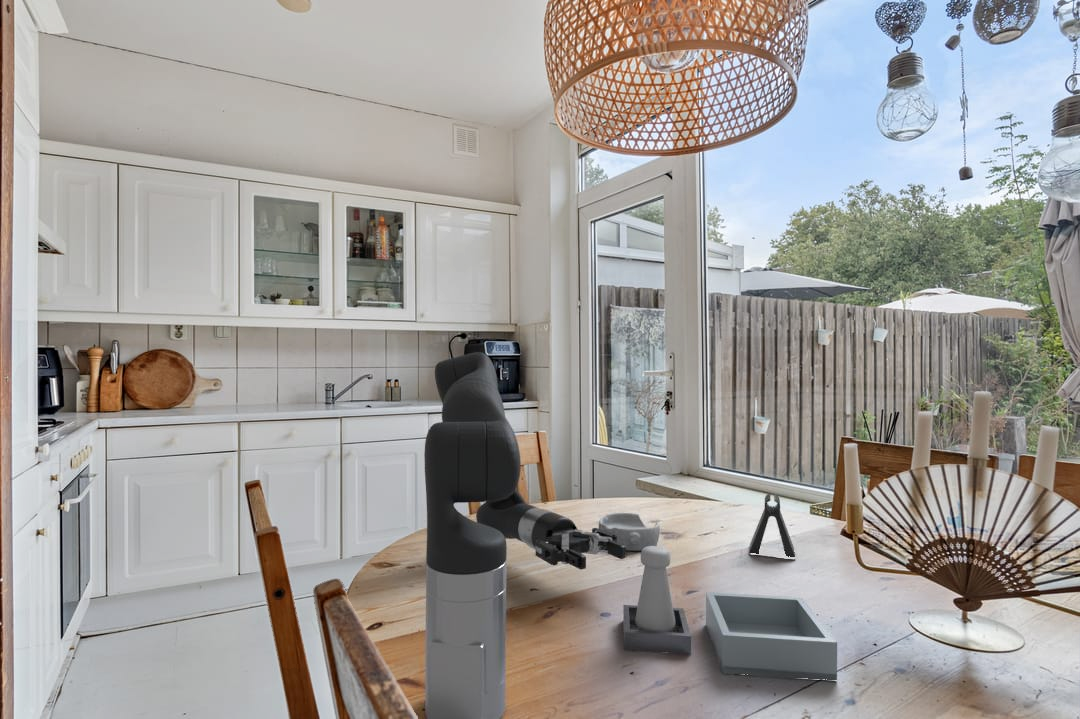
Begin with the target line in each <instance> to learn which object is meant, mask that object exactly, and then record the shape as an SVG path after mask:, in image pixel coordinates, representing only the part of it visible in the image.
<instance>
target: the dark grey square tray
mask: <svg viewBox="0 0 1080 719" xmlns="http://www.w3.org/2000/svg"><path fill="white" fill-rule="evenodd" d="M637 607H638V605H635V604H633V605H632V604H623V609H622V610H623V615H622V616H623V617H622V619H623V622H622V623H623V646H624V648H623V649H624V651H632V650H633V652H634V651H635V652H647V651H650V653H661V652H668V653H667V654H676V653H679V654H678V655H690V654H691V655H692V635H691V630H690V627H689V623H688V621H687V616H686V613H685V610H684V608H683V607H673V611H674V616H675V626H679V627H678V630H679V631H678V632H673V633H672V632H656V631H641V630H638V629H631V625H636V622H635V618H636V612H637ZM680 653H682V654H680Z"/></svg>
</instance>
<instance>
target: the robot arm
mask: <svg viewBox="0 0 1080 719" xmlns="http://www.w3.org/2000/svg"><path fill="white" fill-rule="evenodd" d="M434 379H435V385H436V390H437V393H438V395H439V398H440V400H441V403H442V406H441V420H442V421H440V422H436V423H434V424H432V425H431V426H430V428H429V429H428V431H427V434H426V437H425V441H424V442H425V443H424V458H423V459H424V478H425V481H424V482H425V498H426V550H425V551H426V552H425V553H426V555H425V556H426V558H425V559H426V560H425V562H426V566H425V567H426V569H425V570H426V571H425V572H426V576H425V579H426V580H425V583H426V584H425V585H426V586H425V665H424V666H425V667H424V668H425V669H424V670H425V671H424V672H425V678H424V679H425V681H424V682H425V685H424V686H425V687H424V688H425V689H424V690H425V691H424V692H425V695H424V696H425V697H424V698H425V699H424V700H425V702H424V704H425V709H424V710H425V711H424V712H425V713H424V714H425V717H426V719H501V718H502V717H503V715H504V714H505V711H506V700H507V699H506V695H507V694H506V693H507V692H506V689H507V688H506V686H507V684H506V683H507V682H506V681H507V671H506V669H507V668H506V666H507V663H506V662H507V661H506V660H507V658H506V657H507V654H506V653H507V558H508V557H507V552H508V551H507V549H508V546H507V540H506V539H508V540H512V539H513V540H514V539H515V540H517V541H520V542H522V543H523V544H526V546H527V547H529V548H530V549H533V550H534V551H535V556H536V557H537V558H538V559H540V560H543V561H544V562H546V563H548V564H550V565H551V566H558V564H559V563H560V562H561V564H563V565H568V564H569V565H571V566H572V567H575V568H577V569H579V570H580V571H582V570H585V569H587V568H586V567H587V557H586V555H585V554H588V555H598V554H599V553H602V554H609V556H612V557H615V558H618V559H620V560H624V559H626V558H627V556H626V555H627V550H626V547H625V546H624V545H622V544H619V543H617V538H618V536H617V535H615V534H612V533H610V532H607V531H604V530H601V529H598V527H593V528H592V529H591V532H589V531H584V530H583V529H578V527H577V526H576V524H575V522H574V521H573V520H572V519H570V518H569V517H566V516H563V515H561V514H558V513H556V512H553V511H550V510H549V509H544V508H540V507H536V506H535V505H532V504H529V503H526V501H525V499H524V497H523V496H522V494H521V493H520V492H519V490H518V489H517V488H518V485H519V481H520V476H521V468H522V465H521V463H522V462H521V453H520V447H519V444H518V439H517V436H516V434H515V432H514V430H513V427H512V426H511V424H510V422H509V421H508V419H507V417H506V413H505V407H504V403H503V399H502V397H501V395H500V392H499V388H498V386H499V385H498V376H497V372H496V368H495V366H494V364H493V362H492V360H491V358H490V357H489V356H488V355H487V354H486V353H484V352H478V351H477V352H471V353H467V354H463V355H459V356H455V357H452V358H448V359H444V360H441V361H439V362H437V364H436V365H435V368H434ZM458 503H459V504H460V503H464V504H465V503H482V504H481V505H480V506H479V507H478V509H477V510H476V514H475V518H476V521H475V520H474V519H473V520H472V519H470V518H468V517H467V516H466V515H463V513H461V512H459V511H458V510H457V509H456V507H455V504H458ZM591 543H592V544H593V548H591Z"/></svg>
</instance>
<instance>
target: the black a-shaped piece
mask: <svg viewBox="0 0 1080 719" xmlns="http://www.w3.org/2000/svg"><path fill="white" fill-rule="evenodd" d="M773 498H774V499H773V500H774V502H775V503H776V505H773V506H772V505H769V503H768V502H771V492H770V493H767V494H766V495H765V497H764V509H763V511H762V513H761V516H760V519H759V521H758V523H757V525H756V529H755V531H754V533H753V535H752V538H751V540H750V543H749V547H748V548H749V550H748V554H749V553H756V554H759V549H760V546H762V543H763V538H764V535H765V532H766V529H767V525H768V522H769V519H770V518H771V517H773V518H775V521H776V524H777V529H778V531H779V536H780V539H781V542H782V546H783V549H784V551H785V554H786V556H788V557H789V556H790V557H795V556H796V552H794V549H795V547H794V544H793V541H792V539H791V537H790V533H789V531H788V527H787V525H786V523H785V520H784V517H783V514H782V512H781V502H780V501H781V500H780V497H779V495H777V493H774V495H773Z"/></svg>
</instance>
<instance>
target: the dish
mask: <svg viewBox="0 0 1080 719" xmlns="http://www.w3.org/2000/svg"><path fill="white" fill-rule="evenodd" d="M597 528H598V529H601V530H604V531H607V532H610V533H612V534H615V535H617V536H618V538H617V543H619V544H622V545H624V546H625V547H626V551H631V552H632V551H633V552H635V551H639V552H640V551H642V549H643V548H645V547H647V546H658V543H659V539H660V533H661V532H660V529H661V528H660V522H656V523H655V524H654V526H650V527H648V526H647V525H646V524H645V523H644V521H643V520H642V518H641V516H640V515H639V514H638V513H633V512H613V513H608V514H605V515H602V516H601V518H600V519H599V521H598V527H597Z"/></svg>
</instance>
